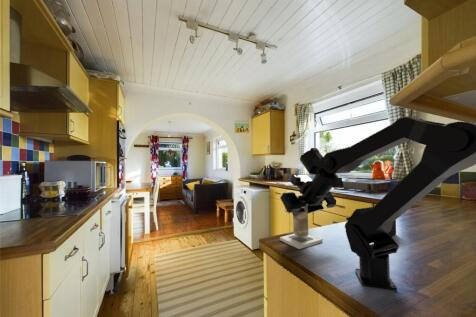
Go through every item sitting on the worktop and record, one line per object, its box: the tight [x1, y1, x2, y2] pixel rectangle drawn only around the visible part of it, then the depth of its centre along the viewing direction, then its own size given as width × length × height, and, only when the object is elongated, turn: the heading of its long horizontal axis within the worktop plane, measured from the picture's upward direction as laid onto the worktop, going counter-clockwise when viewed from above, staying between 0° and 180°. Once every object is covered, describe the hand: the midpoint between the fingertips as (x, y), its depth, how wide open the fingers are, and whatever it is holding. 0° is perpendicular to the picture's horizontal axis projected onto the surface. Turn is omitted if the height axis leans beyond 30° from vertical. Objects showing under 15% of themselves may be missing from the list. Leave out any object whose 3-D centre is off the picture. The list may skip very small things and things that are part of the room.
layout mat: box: [279, 233, 324, 250], centre depth 70 cm, size 11×9×1 cm
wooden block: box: [292, 205, 309, 237], centre depth 70 cm, size 4×4×12 cm
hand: (297, 214), depth 72 cm, fingers closed on wooden block, 3 cm apart
